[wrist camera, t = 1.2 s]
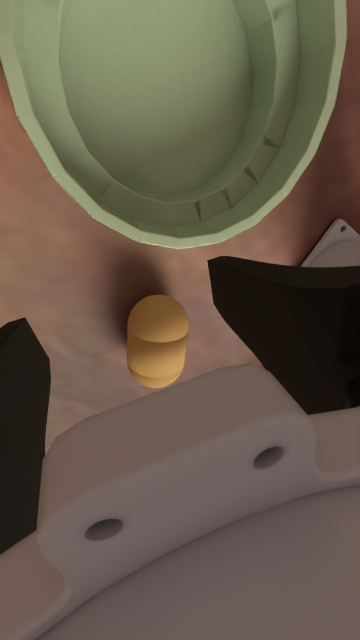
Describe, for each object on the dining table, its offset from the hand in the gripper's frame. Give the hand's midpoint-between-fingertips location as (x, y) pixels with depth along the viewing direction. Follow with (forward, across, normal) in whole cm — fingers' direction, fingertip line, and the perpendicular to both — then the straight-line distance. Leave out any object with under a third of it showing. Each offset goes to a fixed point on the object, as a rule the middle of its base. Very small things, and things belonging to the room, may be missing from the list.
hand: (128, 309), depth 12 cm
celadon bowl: (+10, -6, -7) cm, 13 cm away
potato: (+10, -1, +8) cm, 12 cm away
